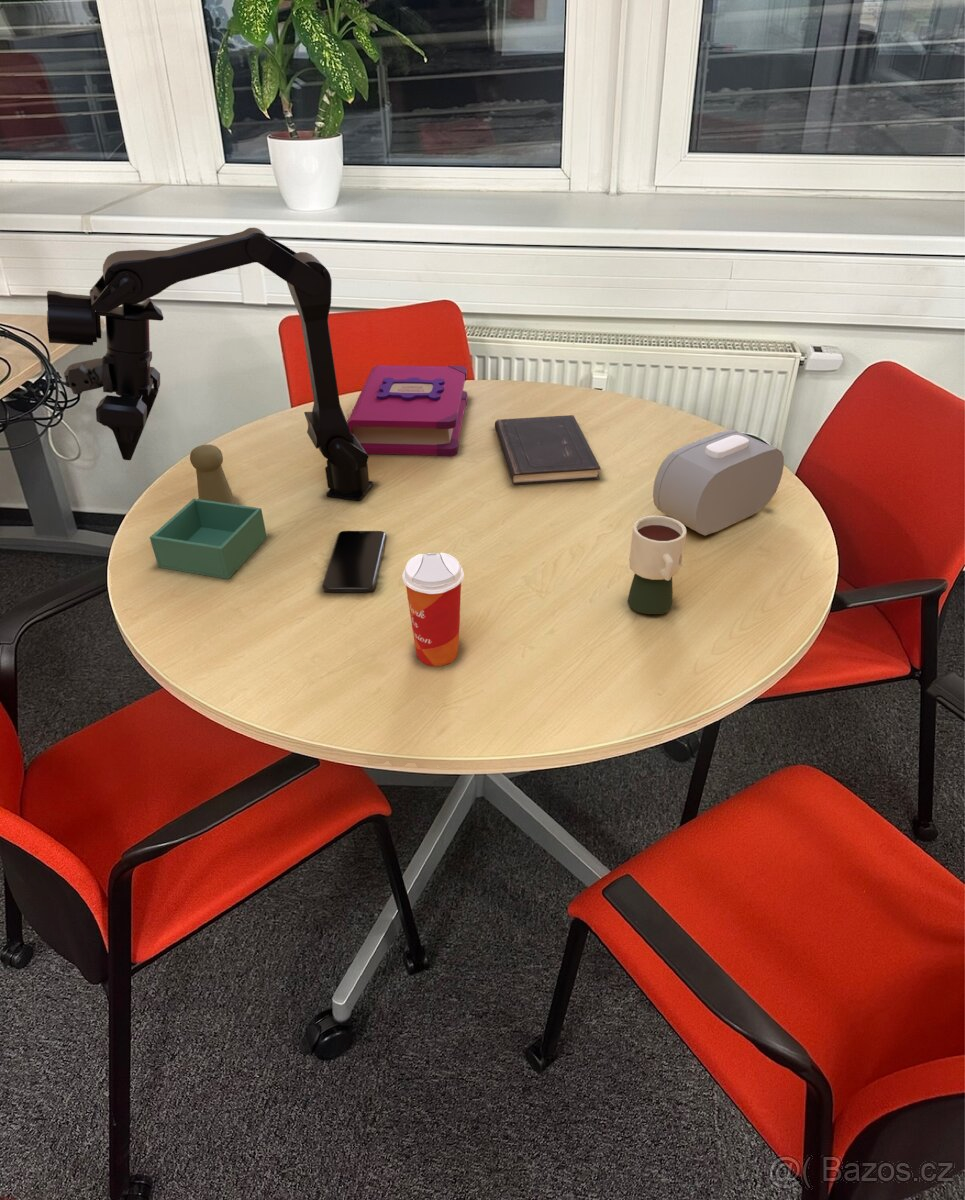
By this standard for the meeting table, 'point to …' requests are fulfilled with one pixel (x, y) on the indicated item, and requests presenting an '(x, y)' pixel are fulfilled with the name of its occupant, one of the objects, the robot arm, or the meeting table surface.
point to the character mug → (655, 562)
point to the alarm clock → (717, 480)
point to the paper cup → (434, 606)
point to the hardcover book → (546, 450)
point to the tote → (209, 538)
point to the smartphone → (355, 561)
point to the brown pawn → (211, 474)
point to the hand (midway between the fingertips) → (132, 447)
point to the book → (410, 410)
